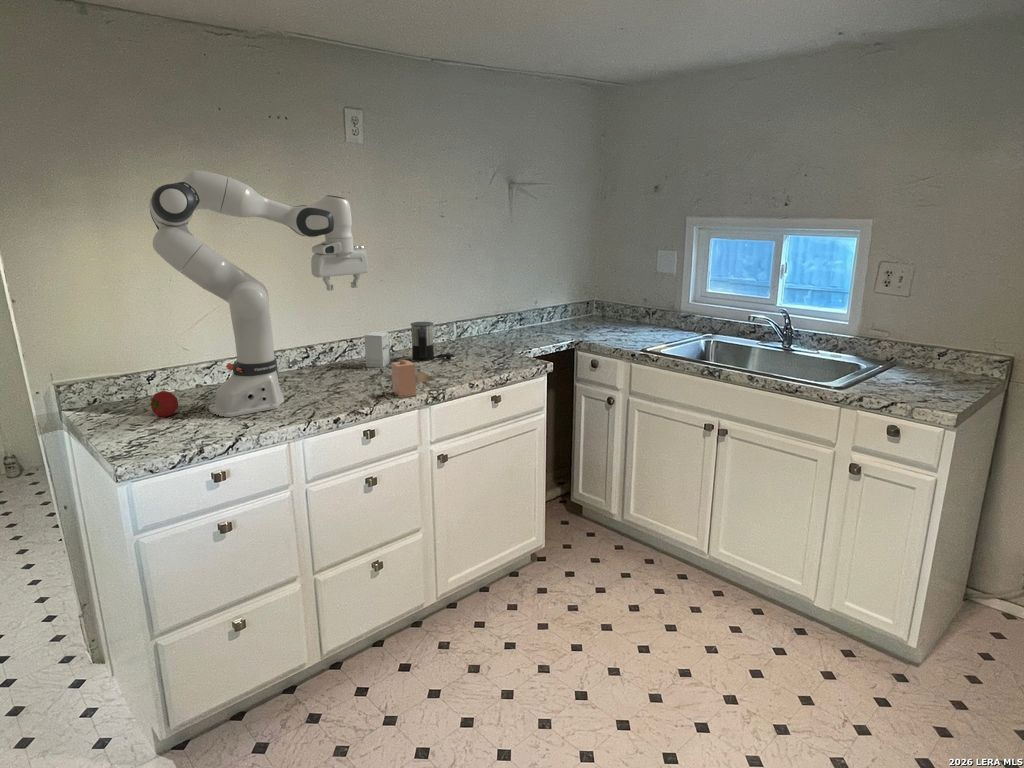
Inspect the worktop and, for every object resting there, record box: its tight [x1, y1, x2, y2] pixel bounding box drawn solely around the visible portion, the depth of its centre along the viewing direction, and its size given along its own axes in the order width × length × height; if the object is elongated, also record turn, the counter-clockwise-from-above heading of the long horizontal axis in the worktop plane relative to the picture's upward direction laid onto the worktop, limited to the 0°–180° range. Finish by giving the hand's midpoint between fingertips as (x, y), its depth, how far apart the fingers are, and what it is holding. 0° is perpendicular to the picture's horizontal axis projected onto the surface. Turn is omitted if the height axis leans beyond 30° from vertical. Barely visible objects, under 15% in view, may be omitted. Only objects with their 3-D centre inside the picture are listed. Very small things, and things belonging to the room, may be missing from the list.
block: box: [415, 366, 418, 379], centre depth 234 cm, size 4×4×4 cm
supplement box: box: [363, 331, 391, 368], centre depth 255 cm, size 7×7×13 cm
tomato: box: [149, 390, 179, 418], centre depth 196 cm, size 8×8×8 cm
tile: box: [384, 370, 437, 384], centre depth 235 cm, size 14×14×1 cm
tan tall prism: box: [391, 359, 417, 400], centre depth 216 cm, size 6×6×12 cm
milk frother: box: [410, 321, 455, 362], centre depth 264 cm, size 14×16×15 cm
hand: (342, 289), depth 219 cm, fingers open, 8 cm apart
